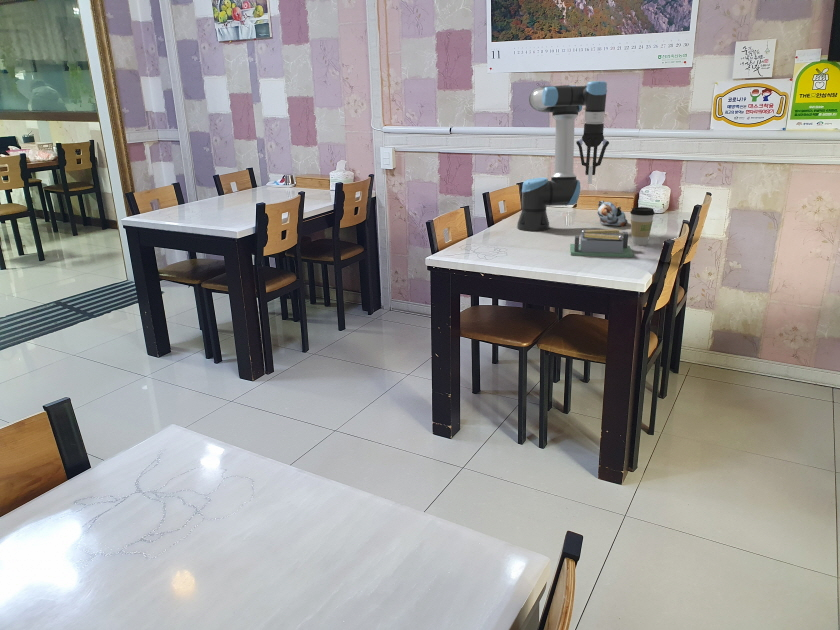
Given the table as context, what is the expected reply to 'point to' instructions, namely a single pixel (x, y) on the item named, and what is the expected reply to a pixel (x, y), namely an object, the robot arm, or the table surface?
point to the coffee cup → (641, 224)
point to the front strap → (604, 236)
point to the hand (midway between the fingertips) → (589, 183)
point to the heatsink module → (601, 246)
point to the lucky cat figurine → (611, 214)
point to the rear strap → (601, 231)
